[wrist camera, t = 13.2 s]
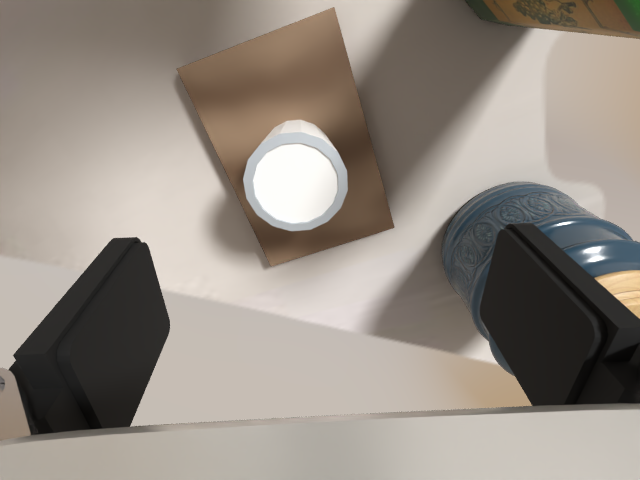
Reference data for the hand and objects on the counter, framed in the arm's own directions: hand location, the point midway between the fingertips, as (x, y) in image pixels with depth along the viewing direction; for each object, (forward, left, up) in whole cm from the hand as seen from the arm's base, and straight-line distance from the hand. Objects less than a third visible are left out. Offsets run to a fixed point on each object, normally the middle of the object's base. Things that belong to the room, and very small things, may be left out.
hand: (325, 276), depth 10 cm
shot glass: (+2, -2, -22) cm, 22 cm away
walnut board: (+3, -2, -23) cm, 24 cm away
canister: (+18, +14, -24) cm, 33 cm away
